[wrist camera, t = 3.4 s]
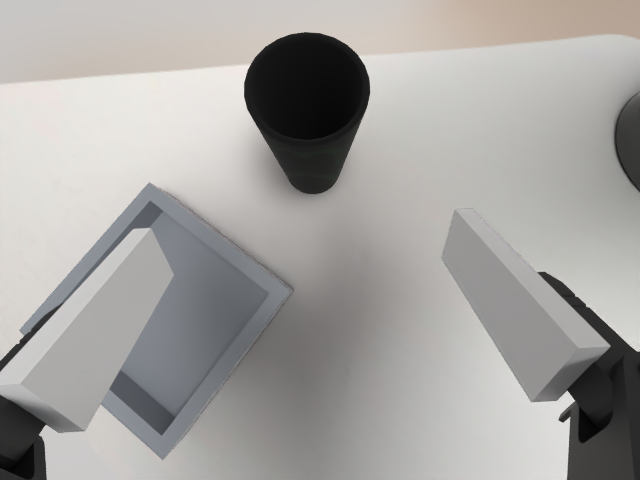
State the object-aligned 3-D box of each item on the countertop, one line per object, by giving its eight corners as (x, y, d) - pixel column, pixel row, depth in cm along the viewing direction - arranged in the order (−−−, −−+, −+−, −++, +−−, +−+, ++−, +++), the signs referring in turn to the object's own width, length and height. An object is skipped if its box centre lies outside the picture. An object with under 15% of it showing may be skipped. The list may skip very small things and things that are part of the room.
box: (170, 194, 28) (149, 182, 25) (294, 289, 26) (290, 290, 23) (59, 324, 26) (19, 330, 23) (185, 435, 25) (163, 460, 21)
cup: (272, 200, 28) (235, 139, 16) (280, 131, 29) (251, 26, 17) (347, 207, 28) (366, 150, 16) (352, 137, 29) (374, 35, 17)
